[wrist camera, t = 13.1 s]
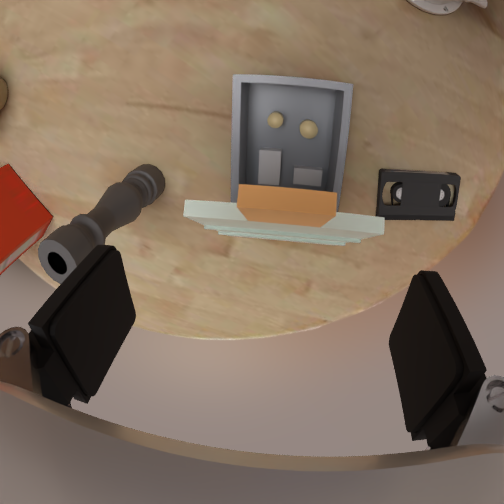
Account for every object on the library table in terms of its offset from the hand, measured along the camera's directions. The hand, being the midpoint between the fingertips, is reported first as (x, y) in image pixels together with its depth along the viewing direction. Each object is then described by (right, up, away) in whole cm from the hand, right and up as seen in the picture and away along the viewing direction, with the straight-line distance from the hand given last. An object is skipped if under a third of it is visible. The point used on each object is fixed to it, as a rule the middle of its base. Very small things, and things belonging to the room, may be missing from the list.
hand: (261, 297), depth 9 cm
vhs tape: (+26, +11, +35) cm, 45 cm away
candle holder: (-18, +13, +40) cm, 45 cm away
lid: (+3, +4, +19) cm, 20 cm away
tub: (+5, +17, +34) cm, 38 cm away
